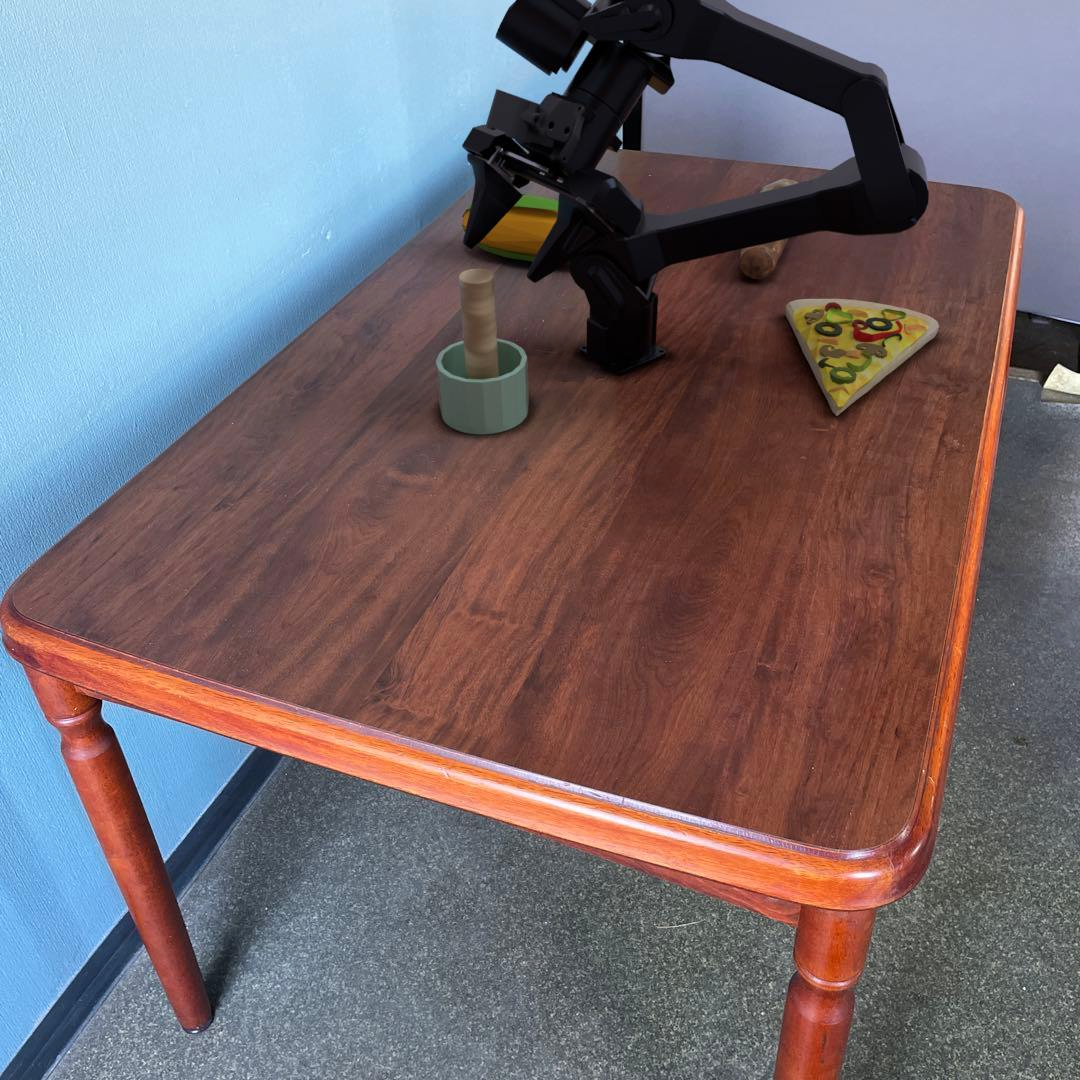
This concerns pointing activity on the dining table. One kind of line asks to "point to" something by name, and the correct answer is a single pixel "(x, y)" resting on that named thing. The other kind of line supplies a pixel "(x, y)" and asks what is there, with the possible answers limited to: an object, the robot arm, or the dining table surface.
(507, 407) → the cup
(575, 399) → the dining table surface
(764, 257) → the bread
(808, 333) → the pizza slice
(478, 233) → the robot arm
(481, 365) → the dowel
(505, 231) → the corn
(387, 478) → the dining table surface
